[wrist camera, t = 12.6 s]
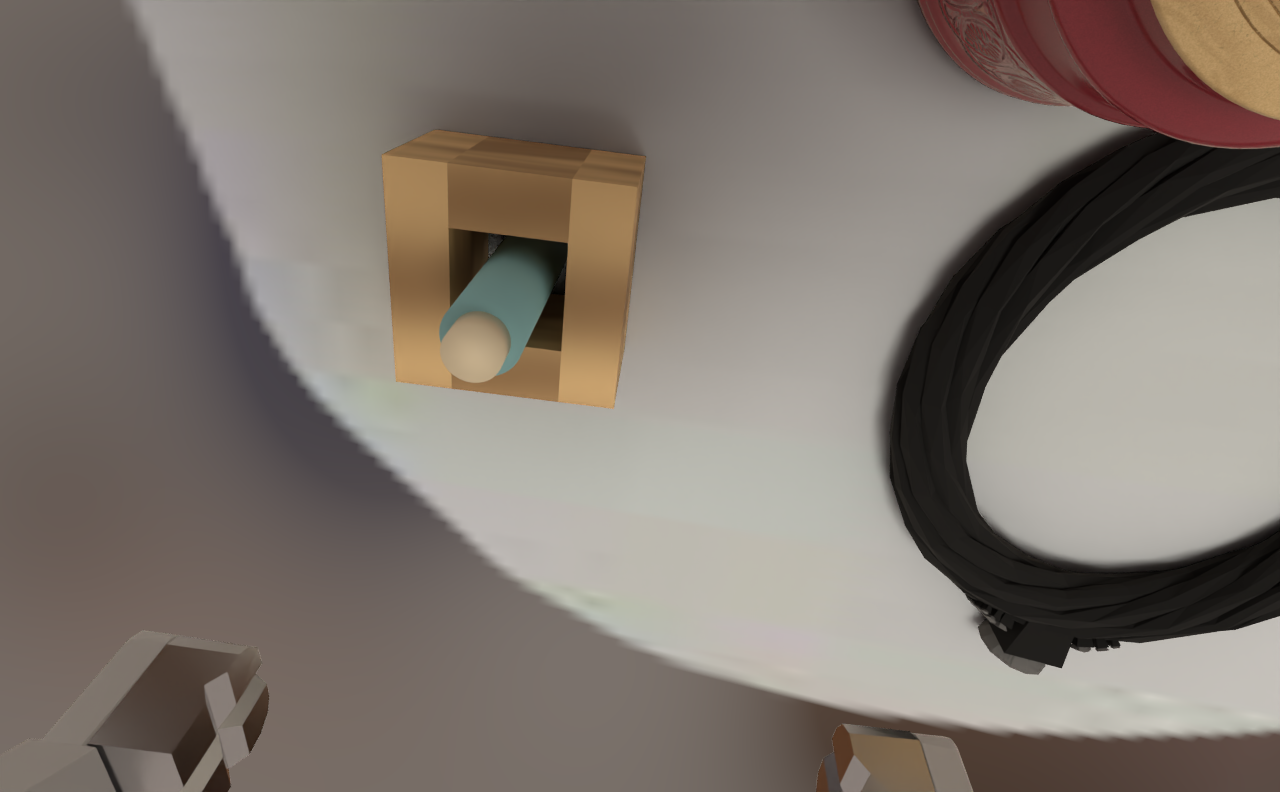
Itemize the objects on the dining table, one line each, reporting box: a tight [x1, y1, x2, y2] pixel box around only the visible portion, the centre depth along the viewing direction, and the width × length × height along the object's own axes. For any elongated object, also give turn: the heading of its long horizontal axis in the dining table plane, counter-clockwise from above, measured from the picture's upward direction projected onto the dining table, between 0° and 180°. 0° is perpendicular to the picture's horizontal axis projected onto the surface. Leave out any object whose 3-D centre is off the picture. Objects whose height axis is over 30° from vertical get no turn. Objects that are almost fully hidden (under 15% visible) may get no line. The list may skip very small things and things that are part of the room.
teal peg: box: [439, 235, 568, 383], centre depth 27 cm, size 3×3×11 cm
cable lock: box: [890, 133, 1280, 674], centre depth 33 cm, size 28×4×30 cm
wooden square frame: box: [382, 130, 646, 409], centre depth 29 cm, size 9×9×6 cm
